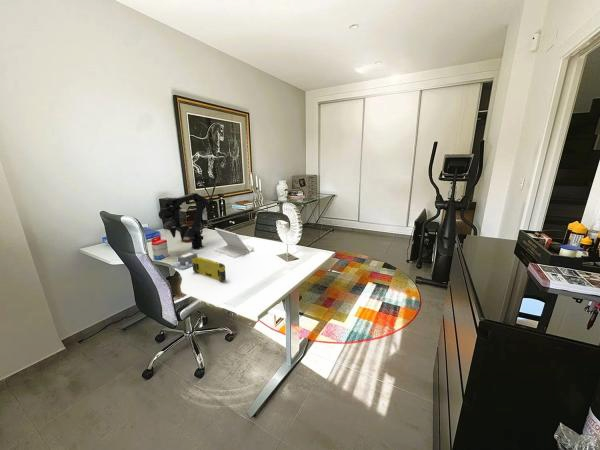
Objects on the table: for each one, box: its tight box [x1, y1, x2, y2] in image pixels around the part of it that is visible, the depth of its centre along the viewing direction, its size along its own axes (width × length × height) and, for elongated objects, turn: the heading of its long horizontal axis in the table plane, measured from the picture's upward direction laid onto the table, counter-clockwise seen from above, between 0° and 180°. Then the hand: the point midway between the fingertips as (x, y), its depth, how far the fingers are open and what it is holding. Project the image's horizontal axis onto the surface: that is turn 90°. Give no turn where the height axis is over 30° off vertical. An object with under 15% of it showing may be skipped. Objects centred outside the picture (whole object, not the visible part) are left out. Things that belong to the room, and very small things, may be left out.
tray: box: [171, 254, 199, 271], centre depth 156 cm, size 16×11×4 cm
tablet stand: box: [213, 227, 254, 259], centre depth 179 cm, size 18×25×17 cm
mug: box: [180, 220, 204, 244], centre depth 206 cm, size 20×14×15 cm
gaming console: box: [192, 255, 227, 282], centre depth 138 cm, size 26×4×10 cm, turn 60°
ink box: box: [150, 235, 170, 261], centre depth 166 cm, size 8×5×15 cm, turn 168°
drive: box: [177, 251, 198, 266], centre depth 156 cm, size 10×6×5 cm, turn 150°
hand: (178, 238), depth 170 cm, fingers open, 9 cm apart
